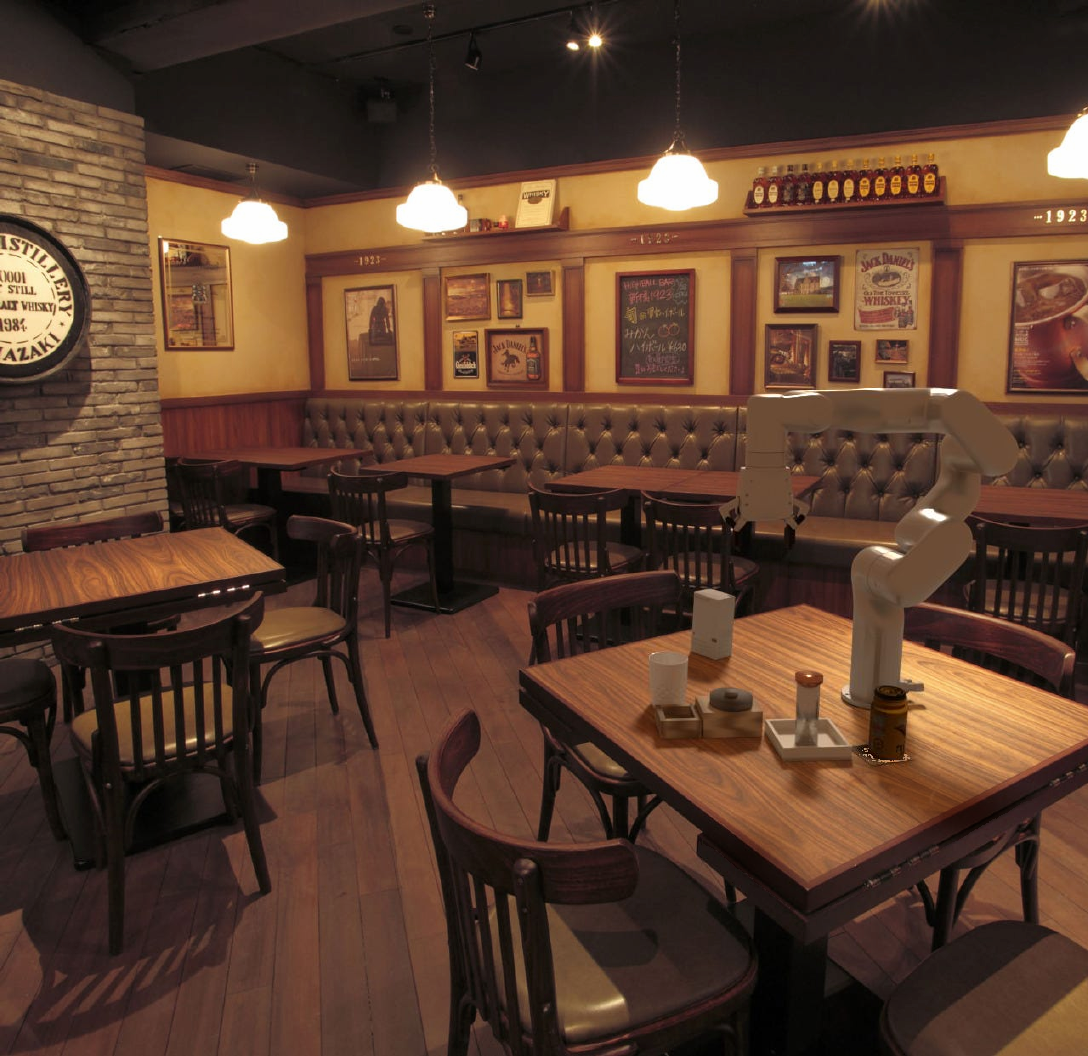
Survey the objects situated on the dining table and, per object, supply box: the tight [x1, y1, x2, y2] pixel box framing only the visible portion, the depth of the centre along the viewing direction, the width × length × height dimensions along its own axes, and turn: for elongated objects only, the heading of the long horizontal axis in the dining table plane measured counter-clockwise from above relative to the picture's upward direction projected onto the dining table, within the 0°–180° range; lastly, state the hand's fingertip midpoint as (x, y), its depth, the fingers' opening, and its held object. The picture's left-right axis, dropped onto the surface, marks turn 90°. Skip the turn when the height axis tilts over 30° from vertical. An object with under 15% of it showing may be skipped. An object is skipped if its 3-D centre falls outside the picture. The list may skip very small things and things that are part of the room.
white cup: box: [648, 650, 689, 708], centre depth 175 cm, size 8×8×10 cm
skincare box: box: [690, 588, 736, 661], centre depth 204 cm, size 8×6×15 cm
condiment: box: [851, 685, 916, 766], centre depth 152 cm, size 7×8×12 cm
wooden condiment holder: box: [654, 686, 764, 740], centre depth 164 cm, size 19×8×7 cm, turn 91°
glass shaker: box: [794, 669, 824, 746], centre depth 155 cm, size 5×5×13 cm
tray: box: [764, 717, 853, 762], centre depth 157 cm, size 12×12×2 cm
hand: (763, 549), depth 167 cm, fingers open, 9 cm apart
